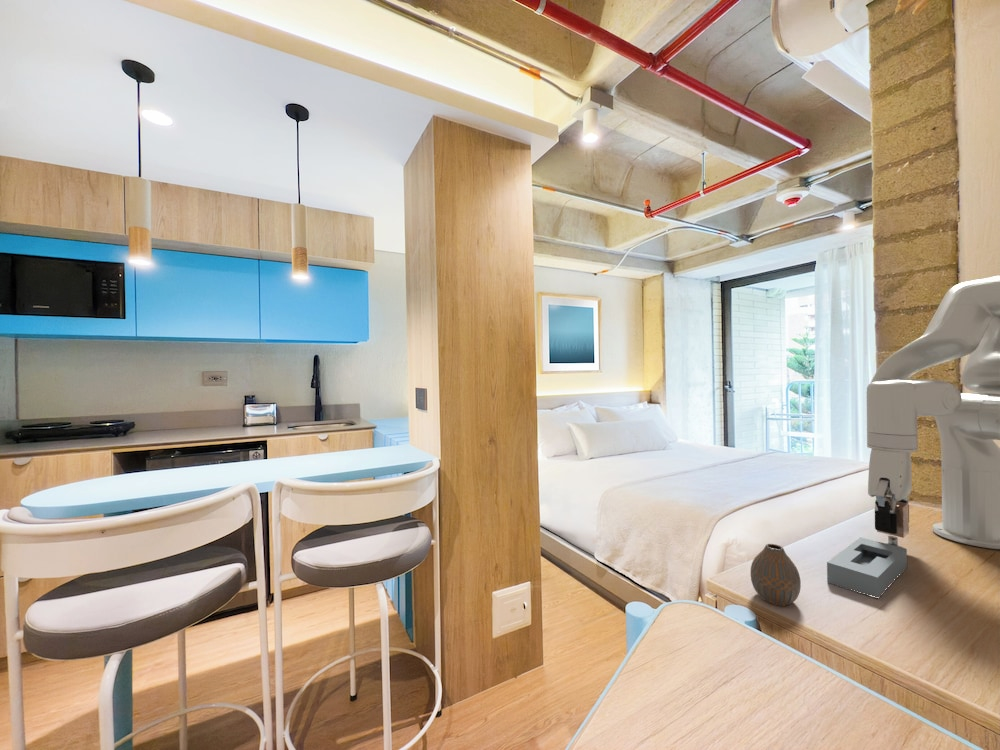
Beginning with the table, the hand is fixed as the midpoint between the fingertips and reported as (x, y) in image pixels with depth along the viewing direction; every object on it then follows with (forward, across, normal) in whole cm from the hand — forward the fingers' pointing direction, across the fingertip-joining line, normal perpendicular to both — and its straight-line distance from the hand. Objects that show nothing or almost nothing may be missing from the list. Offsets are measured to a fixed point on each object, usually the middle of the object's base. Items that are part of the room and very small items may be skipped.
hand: (892, 526), depth 85 cm
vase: (+6, +38, -6) cm, 39 cm away
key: (+5, 0, 0) cm, 5 cm away
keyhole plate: (+5, +16, 0) cm, 17 cm away
